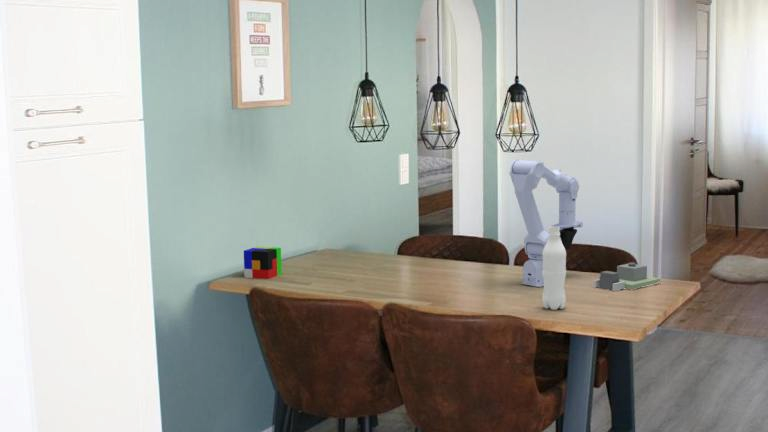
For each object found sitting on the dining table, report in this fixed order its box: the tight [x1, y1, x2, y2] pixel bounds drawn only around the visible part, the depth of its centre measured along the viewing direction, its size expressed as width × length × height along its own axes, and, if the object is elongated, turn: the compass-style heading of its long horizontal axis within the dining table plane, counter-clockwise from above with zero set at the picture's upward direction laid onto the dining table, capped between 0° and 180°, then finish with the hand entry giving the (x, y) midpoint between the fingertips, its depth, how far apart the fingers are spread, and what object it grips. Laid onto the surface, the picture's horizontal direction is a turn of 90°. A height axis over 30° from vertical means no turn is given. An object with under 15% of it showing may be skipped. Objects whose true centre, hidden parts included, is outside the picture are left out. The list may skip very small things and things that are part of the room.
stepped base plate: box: [593, 261, 661, 292], centre depth 323 cm, size 21×13×7 cm, turn 129°
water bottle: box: [541, 225, 567, 311], centre depth 290 cm, size 7×7×25 cm
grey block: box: [599, 270, 619, 291], centre depth 318 cm, size 4×5×6 cm
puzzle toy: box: [243, 246, 283, 280], centre depth 352 cm, size 10×10×10 cm
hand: (566, 249), depth 339 cm, fingers closed
